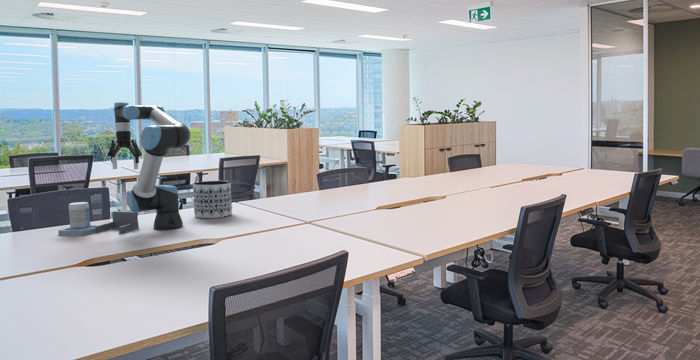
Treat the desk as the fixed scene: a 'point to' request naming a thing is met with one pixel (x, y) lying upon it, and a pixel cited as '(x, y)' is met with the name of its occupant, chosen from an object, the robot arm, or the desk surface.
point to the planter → (212, 199)
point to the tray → (77, 233)
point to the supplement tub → (79, 216)
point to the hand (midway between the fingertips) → (125, 169)
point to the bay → (121, 222)
